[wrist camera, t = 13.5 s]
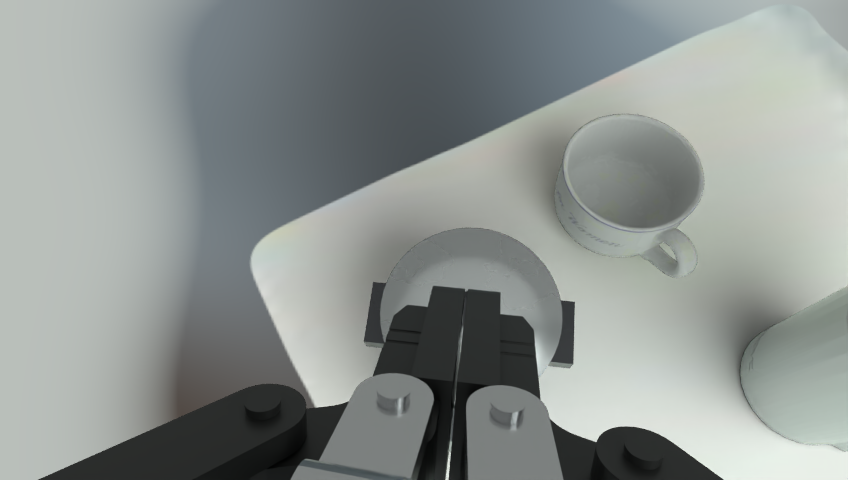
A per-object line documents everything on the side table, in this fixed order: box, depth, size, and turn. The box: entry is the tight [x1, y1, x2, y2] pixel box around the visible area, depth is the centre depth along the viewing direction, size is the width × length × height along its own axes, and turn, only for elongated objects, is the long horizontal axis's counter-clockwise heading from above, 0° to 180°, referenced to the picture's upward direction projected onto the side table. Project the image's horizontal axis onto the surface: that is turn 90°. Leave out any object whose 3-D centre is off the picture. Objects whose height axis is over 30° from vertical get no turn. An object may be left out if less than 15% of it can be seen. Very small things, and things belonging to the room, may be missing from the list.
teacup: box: [555, 114, 704, 278], centre depth 49 cm, size 14×11×8 cm
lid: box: [380, 228, 562, 405], centre depth 40 cm, size 12×12×2 cm
